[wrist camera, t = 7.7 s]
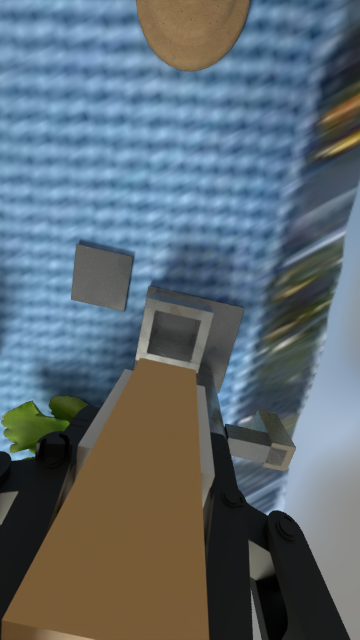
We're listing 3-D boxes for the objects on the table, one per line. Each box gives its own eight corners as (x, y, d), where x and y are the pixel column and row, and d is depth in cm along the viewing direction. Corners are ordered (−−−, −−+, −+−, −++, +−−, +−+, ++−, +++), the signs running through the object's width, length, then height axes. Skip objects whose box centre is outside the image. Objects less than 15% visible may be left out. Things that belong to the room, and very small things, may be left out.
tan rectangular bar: (140, 357, 16) (1, 620, 4) (195, 369, 16) (210, 663, 4) (131, 405, 17) (-1, 724, 5) (183, 417, 17) (167, 759, 5)
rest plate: (78, 244, 32) (76, 243, 31) (133, 256, 32) (132, 256, 31) (72, 299, 34) (70, 299, 33) (124, 310, 34) (123, 311, 33)
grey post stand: (149, 285, 33) (74, 329, 11) (277, 314, 33) (436, 410, 12) (134, 370, 36) (54, 524, 15) (249, 396, 36) (332, 583, 15)
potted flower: (167, 372, 36) (147, 469, 19) (188, 487, 42) (187, 640, 25) (23, 389, 38) (-111, 490, 21) (61, 496, 44) (-20, 644, 27)
